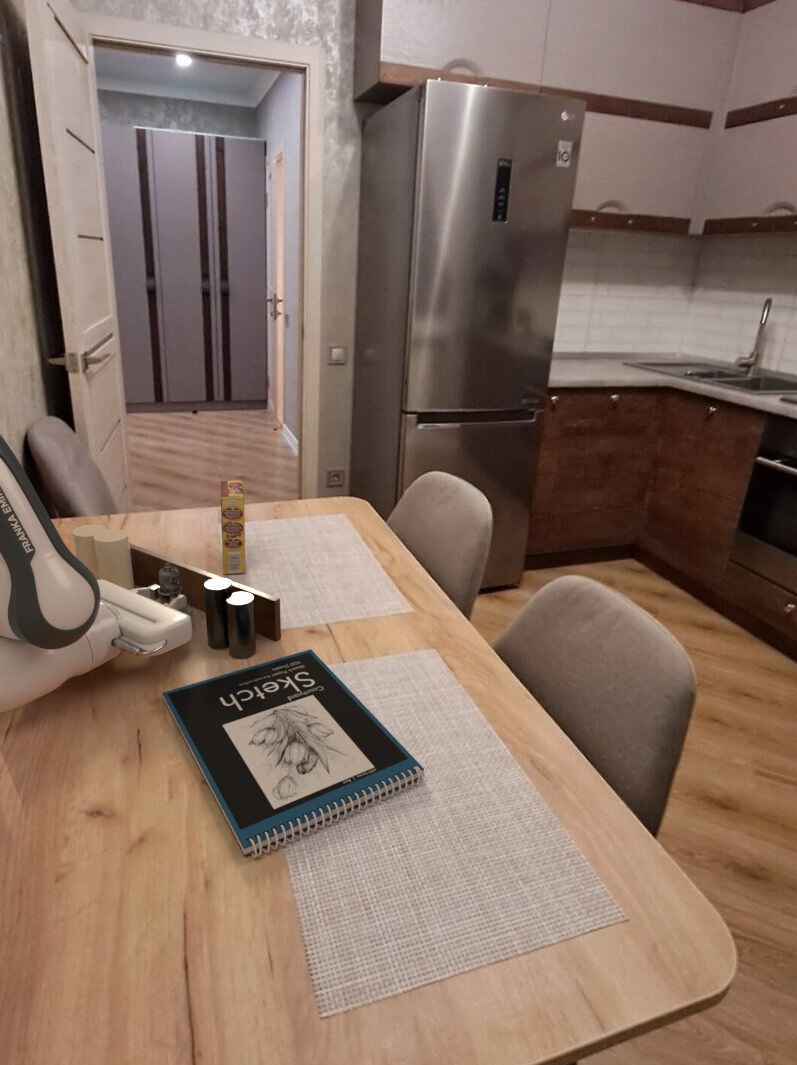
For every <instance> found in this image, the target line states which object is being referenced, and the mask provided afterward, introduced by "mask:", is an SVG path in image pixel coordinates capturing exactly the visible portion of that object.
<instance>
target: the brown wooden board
mask: <svg viewBox="0 0 797 1065" xmlns="http://www.w3.org/2000/svg"><path fill="white" fill-rule="evenodd" d="M129 544H130V552H131V561H132V569H133V577H134V585H137V586H139V587H140V588H145V587H149V586H152V585H154V584H157V585H159V586H160V581H159V571H160V570H161V569H162V568H163V567H165V566H166V565H165V564H166V563H167V562H169V563H170V566H173V567H175V568H177V570H178V572H179V583H180V586H182V588H183V590H182V591H181V595H184V596H186V599H187V604H188V605H190V606H191V607H192V609H196V610H198V611H201V612H203V613H205V614H206V612H205V599H204V583H205V582H206V581H207V580H209V579H213V578H224V577H223V576H220V575H217V574H215V573H212V572H210V571H206V570H204V569H201V568H198V567H195V566H194V565H190V564H187V563H185V562H182V561H179V560H177V559H173V558H171V557H169V556H166V555H163V554H160V553H157V552H156V551H152V550H149V549H147V548H144V547H141V546H138V545H135V544H133V543H131V542H129ZM229 580H230V581H231V582H232V593H235V592H248V593H251V594H252V595H253V596H254V604H255V628H256V635H259V636H262V637H263V638H267V639H269V640H271V641H273V642H278V641H279V640H280V639H282V630H281V628H282V626H281V625H282V624H281V623H282V622H281V598H280V597H277V596H274V595H272V594H269V593H266V592H264V591H261V590H258V589H255V588H252V587H251V586H248V585H244V584H242V583H239V582H236V581H234V580H231V579H229Z"/></svg>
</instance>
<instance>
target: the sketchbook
mask: <svg viewBox="0 0 797 1065" xmlns="http://www.w3.org/2000/svg"><path fill="white" fill-rule="evenodd" d="M162 700H163V702H164V704H165V705H166V708H167V709H168V712H169V714H170V715H171V717H172V719H173V721H174V723H175V725H176V727H177V729H178V731H179V732H180V734H181V737H182V739H183V741H184V742H185V744H186V746H187V749H188V750H189V751H190V754H191V756H192V757H193V759H194V761H195V763H196V765H197V767H198V769H199V771H200V773H201V775H202V777H203V779H204V781H205V783H206V785H207V786H208V788H209V790H210V792H211V794H212V797H213V798H214V800H215V802H216V803H217V806H218V807H219V809H220V812H221V814H222V815H223V818H224V819H225V821H226V823H227V825H228V826H229V829H230V830H231V833H232V834H233V836H234V838H235V840H236V842H237V844H238V846H239V848H240V850H241V851H242V853H243V855H244V857H246V856H248V855H251V857H252V858H253V859H255V860H256V859H257V858H259V857H261V856H262V853H263V852H264V853H265V854H269V852H270V851H271V849H272V850H273V851H274V850H278V847H279V846H280V847H284V846H285V845H286V843H287V842H288V843H293V842H294V839H297V840H299V839H301V838H302V835H303V836H308V835H309V834H310V832H312V833H315V832H316V831H317V829H323V828H324V827H325V825H326V826H330V825H332V822H334V823H337V822H338V821H339V819H346V817H347V816H352V815H353V814H354V813H359V812H360V810H361V809H362V810H366V809H367V807H368V806H369V807H372V806H374V804H375V803H376V804H379V803H380V802H381V801H386V800H388V797H389V798H392V797H393V796H394V795H395V794H396V795H399V794H400V793H401V792H405V791H407V789H412V788H413V786H418V785H419V784H422V783H423V782H424V776H425V768H424V767H423V766H422V765H421V764H420V763H419V761H417V759H416V758H415V757H413V755H412V754H411V753H410V752H409V751H408V750H407V749H406V748H405V747H404V746H403V744H402V743H400V741H398V739H397V738H395V736H394V735H393V734H392V733H391V732H390V731H389V730H388V728H386V726H384V724H383V723H381V721H380V720H379V719H378V718H377V717H376V716H375V715H374V714H373V712H371V711H370V709H368V708H367V706H365V705H364V704H363V703H362V701H361V700H360V699H359V698H358V697H357V696H356V695H355V694H354V693H353V692H352V691H351V690H350V688H348V687H347V685H346V684H345V683H344V682H343V681H342V680H341V679H340V678H339V677H338V676H337V675H336V674H335V672H333V670H331V669H330V668H329V666H327V664H325V662H324V661H323V660H322V659H321V658H320V657H319V656H318V655H317V654H316V653H315V651H313V649H312V648H310V649H307V650H303V651H300V652H296V653H293V654H290V655H289V654H288V655H286V656H283V657H279V658H276V659H273V660H269V661H265V662H263V663H259V664H255V665H252V666H248V667H245V668H241V669H239V670H236V671H231V672H228V673H224V674H222V675H218V676H215V677H211V678H207V679H204V680H201V681H197V682H195V683H191V684H187V685H184V686H180V687H178V688H177V687H176V688H173V689H170V690H166V691H164V692H162ZM415 781H416V782H415ZM410 783H411V784H410ZM409 784H410V785H409ZM402 786H405V787H404V788H402ZM396 789H398V790H397V791H396ZM389 792H391V794H389ZM382 795H385V796H384V797H383V796H382ZM376 798H378V800H376ZM369 801H371V803H370V802H369ZM364 803H365V804H364ZM362 804H364V806H363V805H362ZM355 807H357V809H355ZM349 810H350V812H348V811H349ZM342 813H343V815H341V814H342ZM334 817H336V818H334ZM327 820H329V822H327ZM320 823H322V824H321V825H320ZM312 827H314V828H312ZM306 829H307V830H306ZM304 830H306V832H305V831H304ZM298 833H299V835H297V834H298ZM289 837H291V839H290V838H289ZM281 840H283V842H281ZM273 844H275V845H273ZM266 848H267V849H266ZM257 851H259V852H257Z"/></svg>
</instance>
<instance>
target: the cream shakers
mask: <svg viewBox="0 0 797 1065" xmlns="http://www.w3.org/2000/svg"><path fill="white" fill-rule="evenodd" d="M71 534H72V539H73V546H74V553H75V557H76V558H77V559H78V560H80V561H81V562H82V563H83V564H84V565H85V566H86V567H87V568H88V569H89V570H90V571H91V572H92V573H93V575H94V576H95V578H96V580H106V581H108V582H110V583H113V584H115V585H118V586H120V587H122V588H125V589H127V590H131V589H136V587H135V584H134V577H133V569H132V561H131V552H130V544H129V543H130V536H129V532H128V531H126V530H125V529H118V528H117V529H116V528H115V529H114V528H113V529H107V527H106V526H105V525H102V524H96V523H95V524H93V523H92V524H84V525H81V526H78V527H75V528H74V529H73V530H72V533H71Z"/></svg>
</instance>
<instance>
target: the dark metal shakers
mask: <svg viewBox="0 0 797 1065" xmlns="http://www.w3.org/2000/svg"><path fill="white" fill-rule="evenodd" d="M230 580H231V579H229V578H226V577H223V578H213V579H209V580H207V581H206V582H205V583H204V599H205V612H206V613H205V612H204V613H205V624H206V638H207V646H208V647H209V648H211V649H213V650H225V649H228V654H229V656H230V657H231V658H234V659H236V660H243V659H244V660H245V659H249V658H252V657H253V656H254V655H255V654H256V653H257V633H256V628H255V604H254V596H253V595H252V594H251V593H248V592H235V593H232V582H231V581H232V580H231V581H230Z"/></svg>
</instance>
